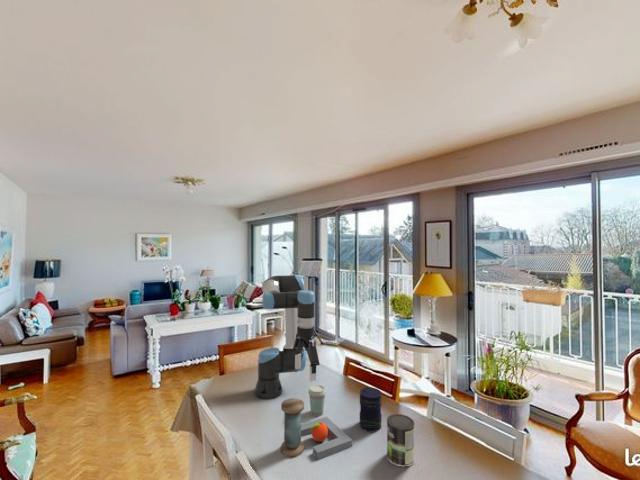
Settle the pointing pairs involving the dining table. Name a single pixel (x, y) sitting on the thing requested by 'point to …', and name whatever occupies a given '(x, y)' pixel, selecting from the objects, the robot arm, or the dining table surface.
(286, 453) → the bobbin
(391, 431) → the coffee can
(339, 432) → the notched board
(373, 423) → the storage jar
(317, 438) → the clementine
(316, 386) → the coffee cup
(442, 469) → the dining table surface
